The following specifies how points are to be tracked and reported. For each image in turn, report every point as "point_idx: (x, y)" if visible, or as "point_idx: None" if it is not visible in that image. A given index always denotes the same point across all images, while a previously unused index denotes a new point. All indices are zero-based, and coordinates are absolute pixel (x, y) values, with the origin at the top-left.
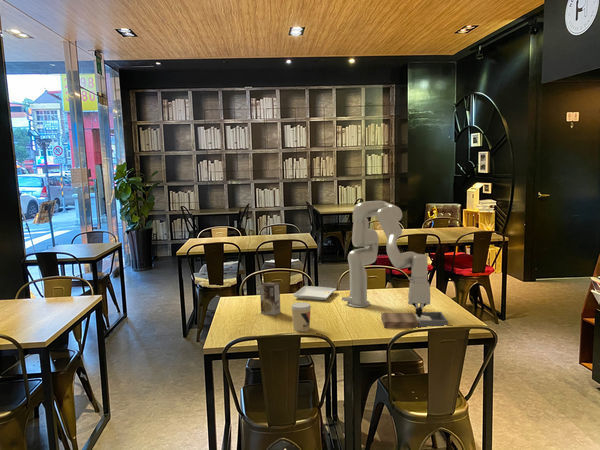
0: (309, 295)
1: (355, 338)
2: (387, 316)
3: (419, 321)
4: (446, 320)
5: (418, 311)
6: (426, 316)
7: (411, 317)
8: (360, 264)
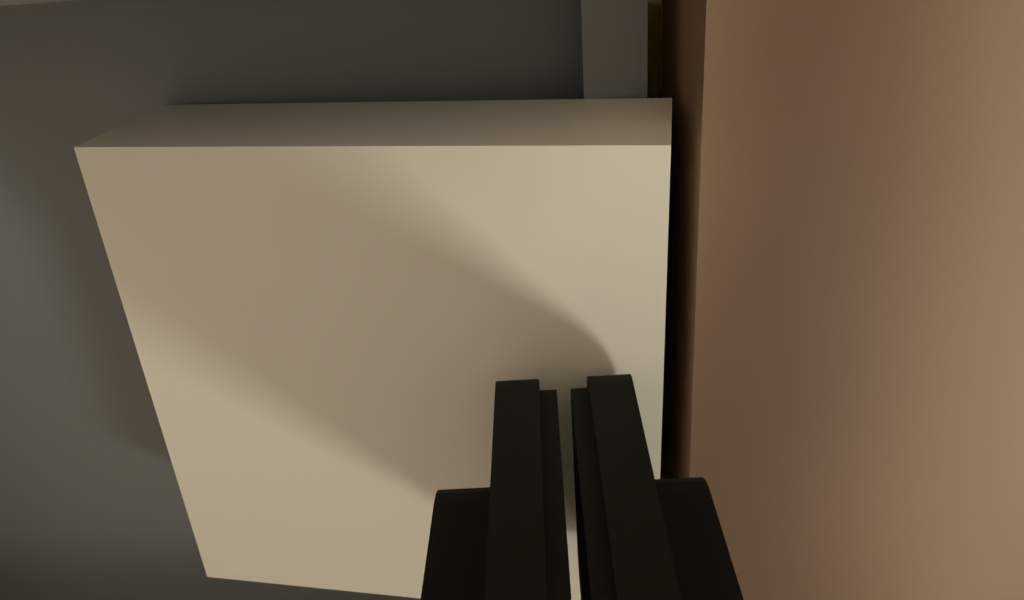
0: None
1: None
2: None
3: (591, 113)
4: None
5: (641, 524)
6: (299, 549)
7: (845, 407)
8: None
